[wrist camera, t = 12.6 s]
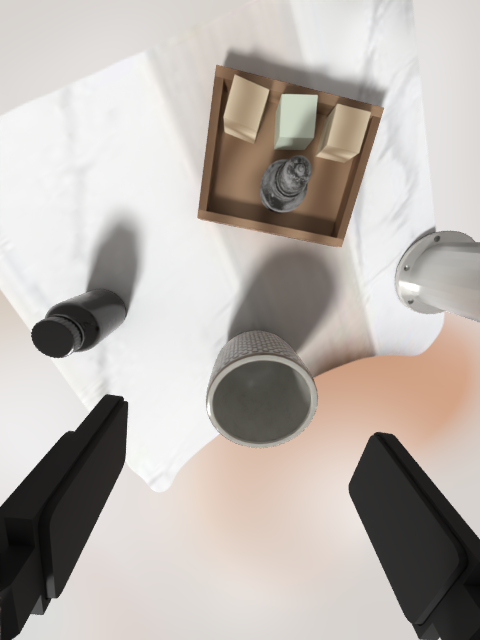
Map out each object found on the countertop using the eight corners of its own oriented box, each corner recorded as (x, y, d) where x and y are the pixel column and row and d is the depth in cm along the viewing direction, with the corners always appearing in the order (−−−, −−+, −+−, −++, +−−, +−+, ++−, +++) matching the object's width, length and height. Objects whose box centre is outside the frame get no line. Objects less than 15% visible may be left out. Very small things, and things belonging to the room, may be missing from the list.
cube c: (264, 108, 30) (269, 89, 26) (254, 144, 31) (256, 131, 28) (234, 95, 30) (234, 74, 26) (224, 132, 31) (223, 117, 27)
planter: (251, 403, 45) (258, 465, 32) (196, 355, 41) (181, 404, 29) (310, 357, 42) (341, 405, 30) (256, 301, 39) (267, 329, 26)
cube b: (307, 112, 30) (317, 94, 27) (304, 150, 32) (313, 138, 28) (275, 112, 30) (281, 93, 26) (273, 149, 32) (279, 137, 28)
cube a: (354, 127, 31) (371, 112, 27) (344, 163, 32) (359, 152, 28) (324, 120, 31) (337, 103, 27) (315, 156, 32) (326, 145, 28)
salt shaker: (298, 163, 32) (334, 122, 21) (301, 211, 34) (335, 197, 23) (255, 171, 32) (266, 134, 21) (260, 218, 34) (273, 207, 23)
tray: (370, 119, 31) (384, 107, 28) (333, 246, 36) (341, 246, 33) (217, 81, 30) (216, 64, 27) (200, 219, 35) (197, 217, 32)
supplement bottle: (76, 314, 39) (10, 345, 27) (95, 279, 37) (33, 297, 26) (115, 337, 40) (68, 376, 29) (135, 304, 38) (93, 332, 27)
